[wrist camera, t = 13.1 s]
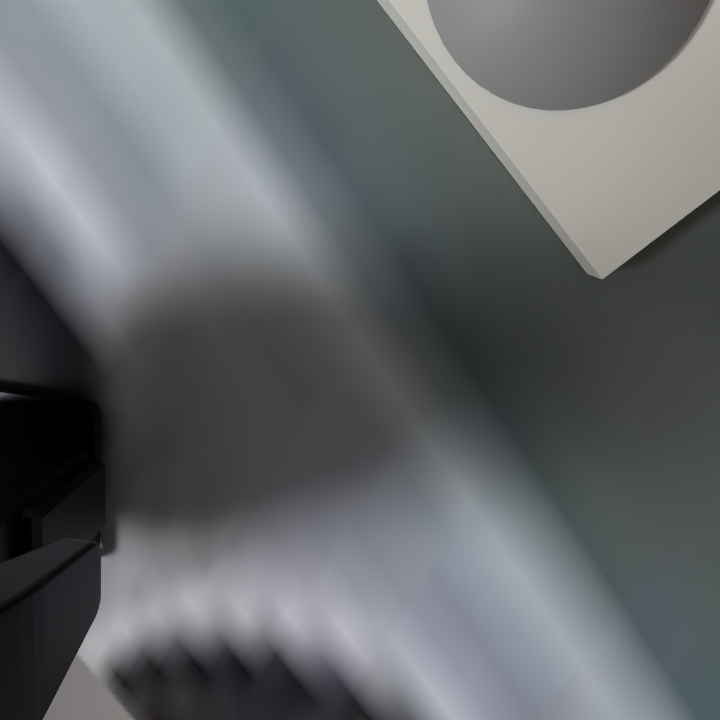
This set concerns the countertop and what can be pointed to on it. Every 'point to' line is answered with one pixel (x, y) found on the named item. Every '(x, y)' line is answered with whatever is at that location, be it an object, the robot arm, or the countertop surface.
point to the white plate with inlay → (586, 107)
